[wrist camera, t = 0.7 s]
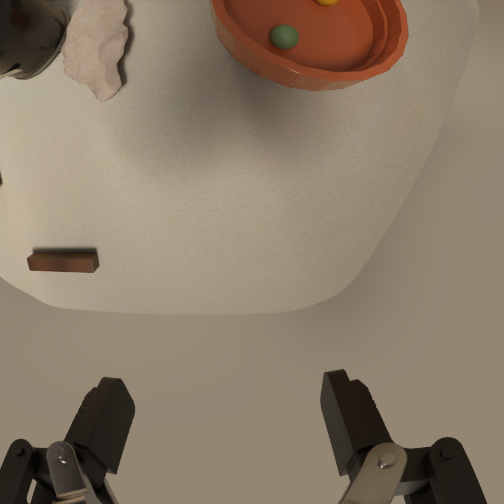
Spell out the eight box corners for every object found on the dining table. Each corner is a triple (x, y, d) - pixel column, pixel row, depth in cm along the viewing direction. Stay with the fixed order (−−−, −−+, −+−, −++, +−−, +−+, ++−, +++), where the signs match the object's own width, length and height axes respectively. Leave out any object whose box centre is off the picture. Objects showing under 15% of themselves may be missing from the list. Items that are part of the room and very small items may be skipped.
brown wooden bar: (36, 265, 25) (29, 270, 24) (33, 253, 25) (26, 258, 23) (99, 266, 26) (93, 272, 25) (96, 253, 26) (90, 258, 24)
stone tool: (152, 81, 20) (123, -13, 15) (145, 70, 17) (116, -26, 12) (79, 120, 20) (60, 22, 15) (64, 115, 17) (48, 12, 12)
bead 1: (262, 36, 19) (266, 26, 16) (285, 27, 18) (291, 16, 16) (277, 57, 20) (283, 48, 17) (300, 47, 19) (308, 38, 17)
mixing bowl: (180, -5, 16) (171, -32, 11) (319, -49, 14) (334, -72, 9) (275, 122, 23) (289, 116, 18) (405, 62, 20) (435, 54, 15)
